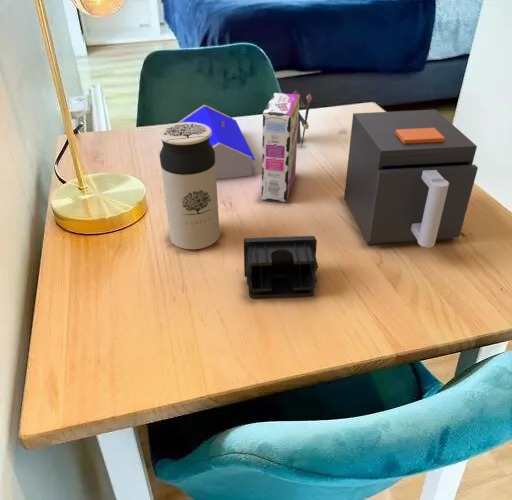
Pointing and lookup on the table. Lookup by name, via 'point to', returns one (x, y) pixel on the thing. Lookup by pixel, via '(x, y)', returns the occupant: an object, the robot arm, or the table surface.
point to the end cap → (280, 266)
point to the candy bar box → (279, 146)
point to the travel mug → (190, 184)
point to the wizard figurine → (300, 118)
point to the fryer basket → (420, 202)
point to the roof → (225, 142)
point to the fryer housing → (397, 153)
